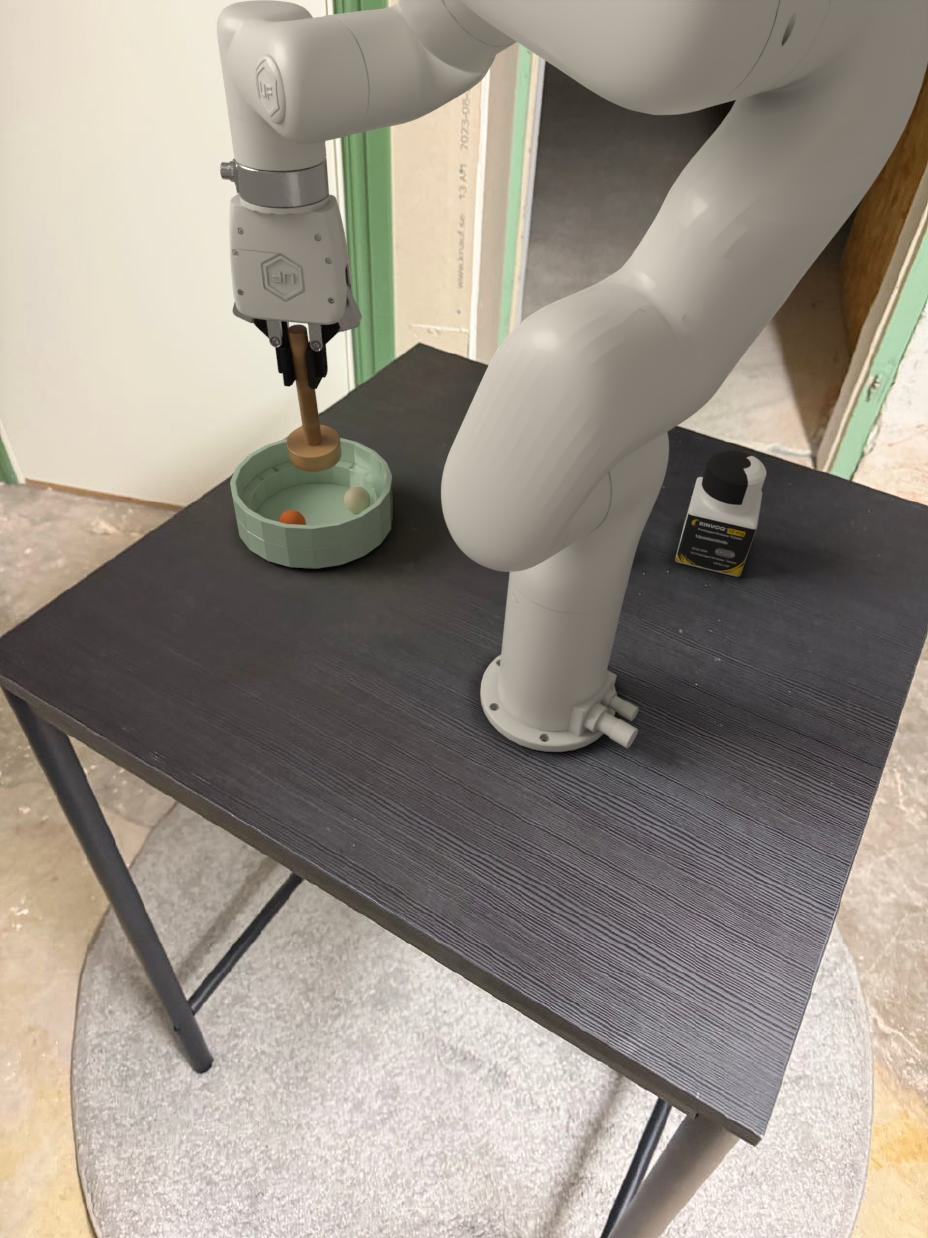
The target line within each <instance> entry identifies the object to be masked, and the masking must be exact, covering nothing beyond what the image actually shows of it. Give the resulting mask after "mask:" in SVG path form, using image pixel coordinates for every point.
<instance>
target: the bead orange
mask: <svg viewBox="0 0 928 1238" xmlns="http://www.w3.org/2000/svg"><path fill="white" fill-rule="evenodd" d="M278 522H282V523H285V524H297V525H306V521H305V518H304V516H303V515H302V514H301V513H299V512H298V511H295V510H288V511H285V512H284V513H282V514H281V516H280V517H279V520H278Z"/></svg>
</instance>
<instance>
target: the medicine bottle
mask: <svg viewBox="0 0 928 1238" xmlns="http://www.w3.org/2000/svg"><path fill="white" fill-rule="evenodd" d="M766 477H767V469H766V467H765V465H764V463H763V462H762V461H761V460H760V459H758V458H757V457H755V456H754V455H752V454H750V453H747V452H744V451H740V450H734V449H733V450H729V449H728V450H722V451H718V452H716V453H714V454H712V455H711V456H710V457H709V458H708V459H707V462H706V466H705V469H704V472H703V476H698V477H697V478H696V480H695V484H694V487H693V491H692V495H691V498H690V502H689V506H688V509H687V513H686V517H685V520H684V522H683V527H682V532H681V535H680V538H679V543H678V547H677V551H676V553H675V554H676V555H675V559H674V560H675V562H676V563H677V564H682V565H685V566H689V567H690V566H691V567H694V568H698V569H703V570H707V571H711V572H715V573H719V574H723V575H728V576H731V577H735V578H738V577H740V576H741V575H742V572H743V569H744V566H745V563H746V560H747V557H748V554H749V552H750V549H751V546H752V543H753V541H754V538H755V534H756V532H757V529H758V525H759V518H760V512H761V504H762V499H763V491H762V489H763V486H764V483H765V480H766Z"/></svg>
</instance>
